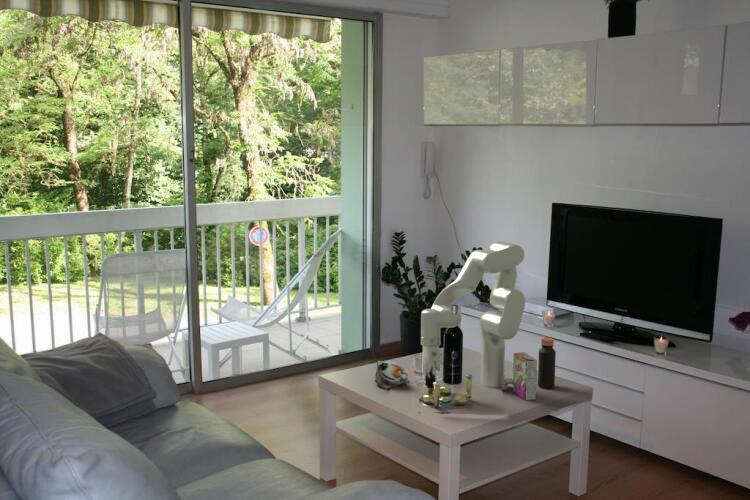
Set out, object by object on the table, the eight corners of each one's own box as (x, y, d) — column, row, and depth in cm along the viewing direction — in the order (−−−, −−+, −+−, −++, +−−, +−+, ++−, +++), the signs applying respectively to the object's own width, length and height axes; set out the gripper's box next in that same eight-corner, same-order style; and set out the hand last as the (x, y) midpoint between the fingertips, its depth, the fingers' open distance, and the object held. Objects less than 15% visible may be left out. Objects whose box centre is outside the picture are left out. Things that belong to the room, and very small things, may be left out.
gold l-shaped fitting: (421, 401, 298) (421, 377, 297) (431, 399, 300) (431, 375, 298) (432, 409, 289) (432, 384, 288) (443, 407, 291) (443, 382, 290)
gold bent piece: (463, 406, 292) (463, 381, 291) (452, 403, 295) (453, 379, 294) (475, 399, 300) (475, 375, 299) (465, 397, 303) (465, 373, 301)
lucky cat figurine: (413, 382, 326) (416, 359, 318) (399, 401, 318) (402, 377, 309) (382, 368, 332) (384, 344, 324) (368, 386, 324) (369, 362, 315)
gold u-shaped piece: (449, 392, 309) (450, 368, 308) (452, 395, 305) (452, 372, 303) (426, 392, 308) (426, 369, 307) (428, 396, 304) (428, 372, 302)
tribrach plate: (470, 396, 309) (471, 389, 308) (471, 414, 289) (471, 406, 289) (420, 395, 311) (420, 388, 310) (417, 412, 291) (417, 405, 291)
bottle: (557, 386, 321) (559, 339, 318) (548, 390, 316) (549, 342, 314) (543, 382, 326) (545, 336, 323) (534, 386, 321) (535, 339, 318)
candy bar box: (512, 392, 314) (512, 352, 312) (523, 391, 315) (524, 351, 313) (525, 401, 303) (526, 360, 301) (536, 399, 305) (537, 359, 302)
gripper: (445, 345, 296) (445, 392, 298) (434, 335, 311) (434, 380, 314) (426, 346, 294) (426, 393, 297) (416, 336, 310) (416, 381, 312)
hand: (430, 386), depth 305 cm, fingers closed
